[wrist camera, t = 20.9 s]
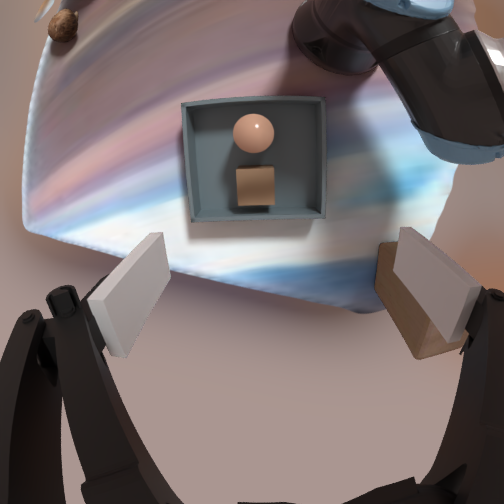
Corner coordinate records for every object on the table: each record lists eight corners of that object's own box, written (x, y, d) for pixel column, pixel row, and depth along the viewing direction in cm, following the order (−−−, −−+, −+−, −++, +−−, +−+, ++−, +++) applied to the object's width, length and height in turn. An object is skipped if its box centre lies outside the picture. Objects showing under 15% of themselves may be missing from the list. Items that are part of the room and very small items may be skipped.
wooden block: (414, 284, 47) (464, 348, 29) (372, 289, 48) (414, 364, 30) (422, 237, 43) (487, 293, 25) (377, 240, 44) (434, 305, 26)
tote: (190, 106, 36) (181, 103, 32) (317, 101, 35) (325, 97, 31) (198, 212, 43) (191, 222, 39) (318, 209, 42) (325, 218, 38)
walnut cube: (239, 165, 39) (236, 169, 35) (272, 164, 39) (274, 168, 35) (240, 197, 41) (238, 205, 37) (273, 196, 41) (274, 204, 37)
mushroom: (77, -4, 22) (52, 6, 19) (95, 18, 28) (71, 29, 24) (61, 20, 27) (38, 32, 24) (77, 41, 32) (55, 54, 29)
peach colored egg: (237, 118, 36) (232, 114, 30) (271, 117, 36) (273, 113, 30) (238, 150, 38) (233, 153, 32) (272, 150, 38) (274, 152, 32)
